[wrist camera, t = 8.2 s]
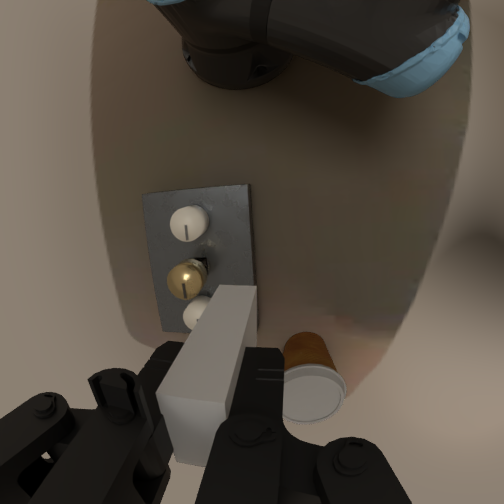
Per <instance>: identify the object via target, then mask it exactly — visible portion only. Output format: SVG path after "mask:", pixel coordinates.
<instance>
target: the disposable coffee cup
mask: <svg viewBox="0 0 504 504" xmlns="http://www.w3.org/2000/svg"><path fill="white" fill-rule="evenodd" d="M283 356H284V358H285V368H284V395H283V419H285V420H287V421H289V422H292V423H296V424H314V423H319V422H322V421H325V420H327V419H328V418H330V417H332V416H333V415H334V414H335V413H337V412H338V411H339V409H340V408H341V406H342V404H343V401H344V399H345V396H346V384H345V381H344V379H343V378H342V377H341V376H340V374H339V373H338V372H337V370H336V368H335V366H334V363H333V361H332V359H331V356H330V354H329V352H328V350H327V347H326V345H325V343H324V341H323V339H322V338H321V337H320V336H318V335H317V334H315V333H311V332H302V333H298V334H295V335H293V336H292V337H291V338H290V339H289V340H288V341H287V343H286V345H285V348H284V352H283Z"/></svg>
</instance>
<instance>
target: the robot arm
mask: <svg viewBox="0 0 504 504" xmlns="http://www.w3.org/2000/svg"><path fill="white" fill-rule="evenodd" d="M147 1H148V2H150V3H152V4H153V5H154V6H155V7H156V8H157V9H158V10H159V11H160V12H161V13H162V14H163V16H164V17H165V18H166V19H167V20H168V21H169V22H170V23H171V25H172V26H173V27H174V28H175V29H176V30H177V32H178V33H179V34H180V35H181V36H182V50H183V54H184V57H185V60H186V62H187V63H188V65H189V66H190V68H191V69H192V70H193V71H194V72H195V73H196V74H197V75H198V76H199V77H200V78H201V79H203V80H204V81H206V82H207V83H209V84H211V85H214V86H217V87H221V88H226V89H246V88H251V87H255V86H258V85H261V84H264V83H266V82H268V81H270V80H272V79H273V78H275V77H276V76H277V75H279V74H280V73H281V72H282V71H283V70H284V69H285V68H286V67H287V65H288V64H289V62H290V61H291V59H292V56H293V54H294V55H296V56H299V57H302V58H304V59H307V60H310V61H312V62H315V63H317V64H320V65H322V66H325V67H327V68H329V69H332V70H334V71H336V72H338V73H341V74H343V75H345V76H347V77H349V78H351V79H352V81H354V82H356V83H358V84H361V85H367V86H370V87H372V88H374V89H376V90H378V91H380V92H382V93H384V94H386V95H389V96H391V97H395V98H403V97H411V96H414V95H417V94H419V93H421V92H423V91H425V90H426V89H428V88H429V87H430V86H432V85H433V84H434V83H435V82H437V81H438V80H439V79H440V78H441V77H442V76H443V75H444V74H445V73H446V72H447V71H448V70H449V68H450V67H451V66H452V65H453V63H454V62H455V61H456V59H457V58H458V56H459V55H460V53H461V51H462V49H463V47H462V43H463V42H464V41H465V40H466V39H467V38H468V34H469V30H470V25H469V19H468V17H467V15H466V14H465V13H464V11H463V9H462V8H461V7H460V6H458V3H459V1H460V0H147ZM256 346H257V286H243V285H219V286H218V288H217V289H216V291H215V293H214V295H213V296H212V298H211V300H210V301H209V303H208V305H207V306H206V308H205V310H204V311H203V313H202V315H201V316H200V318H199V320H198V321H197V323H196V325H195V326H194V328H193V330H192V332H191V333H190V335H189V337H188V338H187V340H186V342H185V343H183V342H174V341H167V342H166V343H164V344H163V345H161V346H159V347H158V348H157V349H156V350H155V352H154V353H153V354H152V356H151V357H150V360H148V361H147V363H146V364H145V366H144V368H142V370H141V371H140V372H139V374H138V375H136V374H135V373H134V372H132V371H129V370H127V369H121V368H112V369H105V370H102V371H100V372H98V373H95V374H94V375H92V376H91V377H90V378H89V379H88V382H89V384H90V387H91V389H92V392H93V395H94V397H95V400H96V402H97V404H98V407H97V408H96V409H93V410H91V409H74V408H70V407H69V405H68V403H67V401H66V400H65V398H64V397H63V396H62V395H60V394H57V393H53V392H45V393H40V394H38V395H36V396H34V397H32V398H30V399H29V400H28V401H26V402H24V403H23V404H22V405H20V406H19V407H17V408H16V409H14V410H13V411H12V412H10V413H8V414H7V415H5V416H4V417H3V418H1V419H0V504H160V503H161V500H162V497H163V495H164V492H165V490H166V487H167V484H168V482H169V479H170V473H171V470H170V468H169V465H168V463H169V460H170V458H171V455H172V453H174V456H175V458H176V461H177V462H180V463H185V464H190V465H195V466H201V467H206V468H205V471H204V474H203V478H202V481H201V484H200V488H199V491H198V494H197V498H196V501H195V504H412V502H411V501H410V499H409V498H408V496H407V494H406V492H405V490H404V489H403V487H402V485H401V484H400V482H399V480H398V478H397V477H396V475H395V473H394V472H393V470H392V468H391V467H390V465H389V463H388V462H387V460H386V458H385V456H384V455H383V453H382V452H381V450H380V449H379V448H378V447H377V446H376V445H375V444H373V443H371V442H369V441H367V440H365V439H362V438H356V437H346V438H339V439H336V440H334V441H331V442H329V443H328V444H327V445H326V446H319V445H315V444H310V443H307V442H304V441H301V440H299V439H297V438H296V437H294V436H293V435H291V434H290V433H289V432H288V431H287V429H286V428H285V426H284V424H283V395H284V368H285V358H284V356H283V355H282V353H281V352H280V350H279V349H278V348H261V347H256ZM45 452H47V453H48V454H49V455H50V457H51V458H49V459H44V458H42V456H41V455H43V454H44V453H45Z"/></svg>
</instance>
